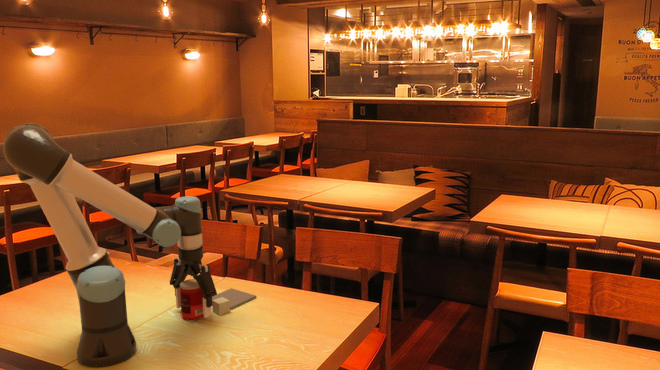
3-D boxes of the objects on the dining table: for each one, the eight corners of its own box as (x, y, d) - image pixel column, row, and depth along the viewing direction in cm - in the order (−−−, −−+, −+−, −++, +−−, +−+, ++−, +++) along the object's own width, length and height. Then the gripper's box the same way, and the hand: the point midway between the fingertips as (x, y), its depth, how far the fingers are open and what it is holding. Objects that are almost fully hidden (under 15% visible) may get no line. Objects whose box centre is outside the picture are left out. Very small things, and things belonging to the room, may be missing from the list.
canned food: (209, 310, 181) (208, 278, 179) (201, 321, 173) (200, 288, 171) (186, 310, 182) (185, 278, 180) (177, 320, 174) (175, 287, 172)
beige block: (219, 315, 178) (219, 303, 177) (212, 312, 180) (212, 300, 180) (230, 312, 180) (229, 300, 179) (223, 308, 183) (222, 297, 182)
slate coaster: (231, 309, 182) (231, 307, 182) (205, 301, 189) (205, 299, 188) (256, 297, 191) (256, 295, 191) (231, 290, 198) (231, 288, 198)
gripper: (226, 250, 169) (229, 316, 173) (174, 237, 183) (178, 299, 187) (208, 256, 163) (211, 325, 167) (155, 242, 177) (159, 306, 181)
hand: (193, 311), depth 177 cm, fingers open, 12 cm apart
